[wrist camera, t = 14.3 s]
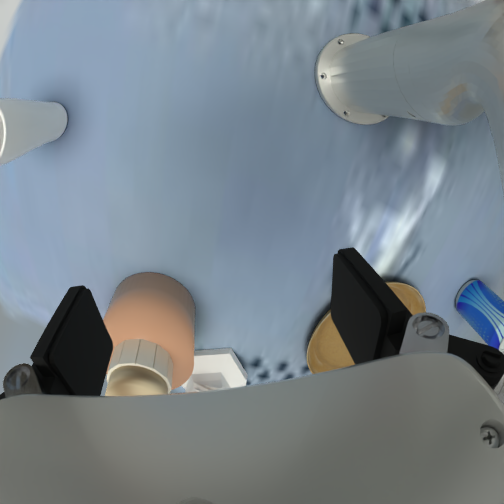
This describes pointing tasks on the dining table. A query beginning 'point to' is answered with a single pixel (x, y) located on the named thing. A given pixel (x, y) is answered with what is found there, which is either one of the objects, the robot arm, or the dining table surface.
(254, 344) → the dining table surface
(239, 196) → the dining table surface
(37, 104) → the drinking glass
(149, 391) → the stopper
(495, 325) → the beer can
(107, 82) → the dining table surface
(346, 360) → the plant saucer
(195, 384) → the soft serve ice cream
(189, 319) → the orange jar
